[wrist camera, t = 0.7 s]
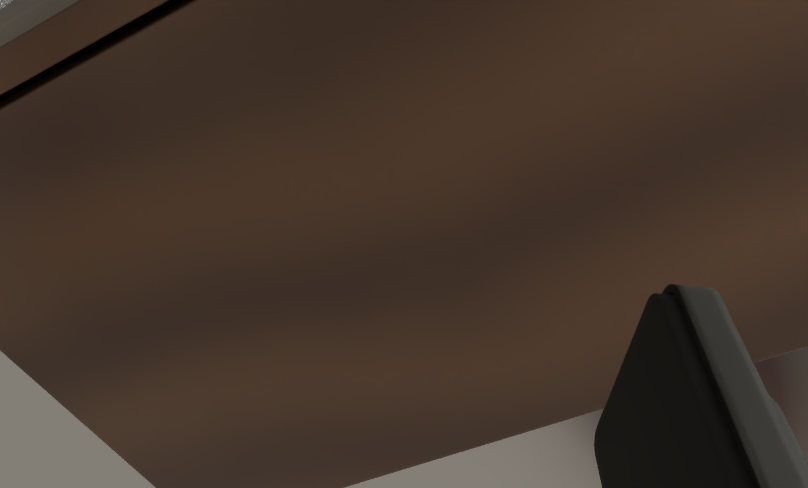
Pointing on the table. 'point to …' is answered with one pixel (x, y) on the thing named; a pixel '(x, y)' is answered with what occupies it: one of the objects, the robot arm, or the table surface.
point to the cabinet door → (57, 32)
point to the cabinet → (390, 220)
